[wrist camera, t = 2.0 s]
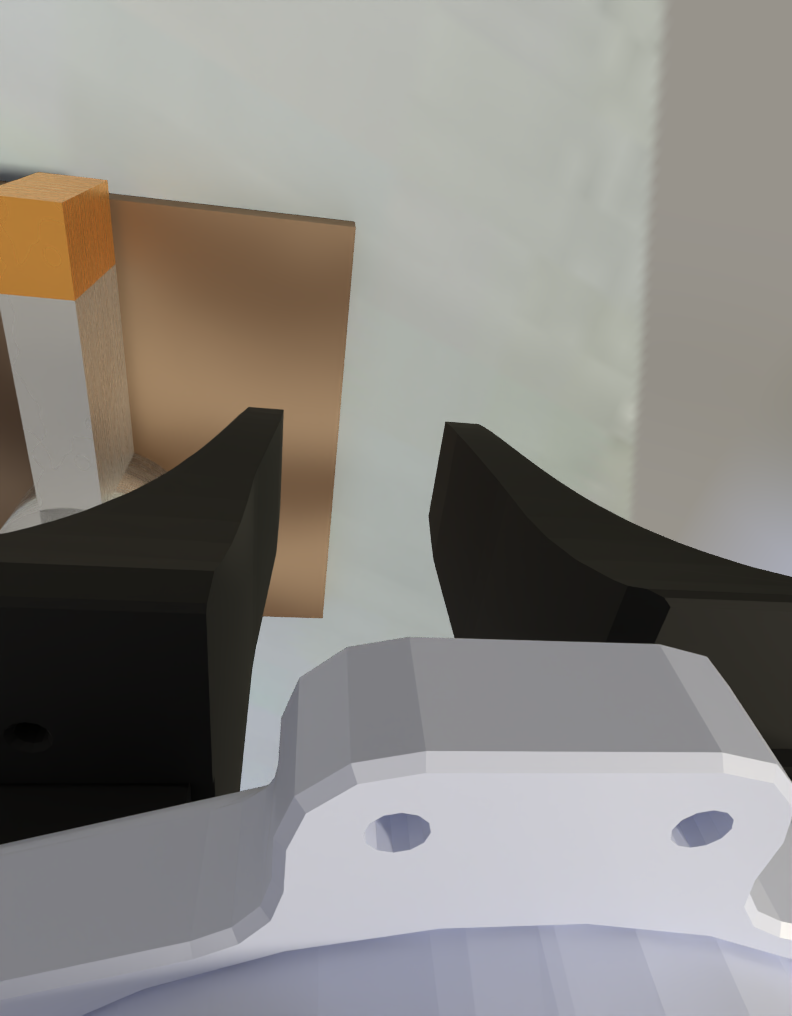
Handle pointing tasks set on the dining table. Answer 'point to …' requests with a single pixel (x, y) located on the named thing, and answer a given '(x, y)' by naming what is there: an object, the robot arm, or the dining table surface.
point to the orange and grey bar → (66, 346)
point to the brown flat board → (227, 357)
